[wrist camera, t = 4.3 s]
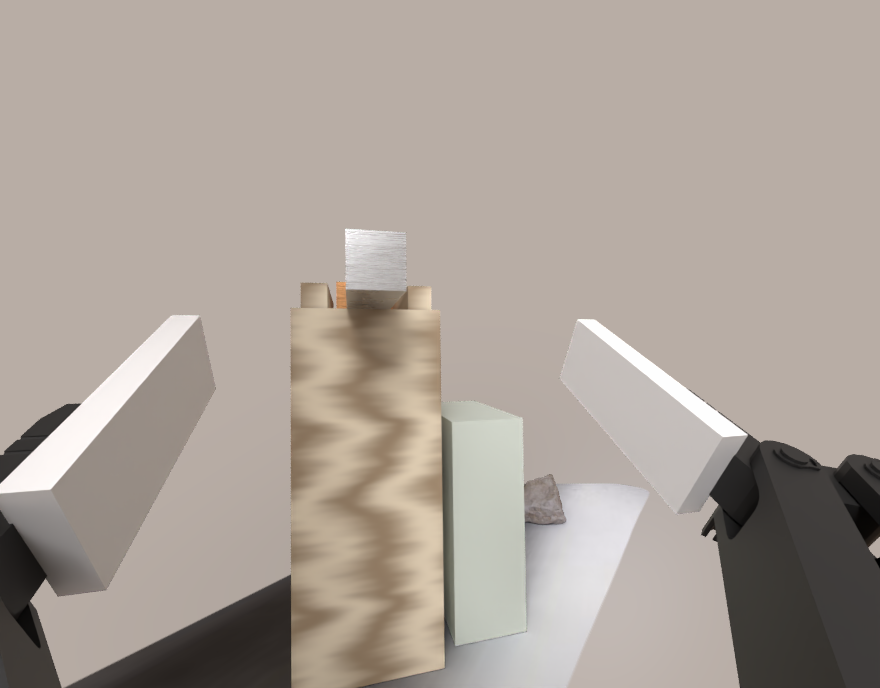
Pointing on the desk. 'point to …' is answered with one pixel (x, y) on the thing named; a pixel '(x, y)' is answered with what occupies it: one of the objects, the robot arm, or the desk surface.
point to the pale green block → (483, 522)
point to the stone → (543, 502)
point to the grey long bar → (373, 270)
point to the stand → (365, 491)
